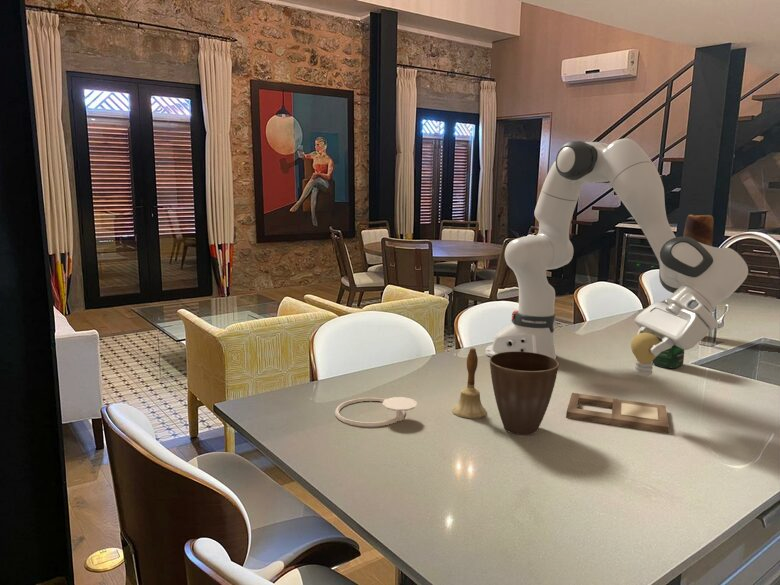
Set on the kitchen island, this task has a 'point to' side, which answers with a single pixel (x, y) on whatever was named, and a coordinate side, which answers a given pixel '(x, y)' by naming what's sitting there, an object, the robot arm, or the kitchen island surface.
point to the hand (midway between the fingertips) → (643, 348)
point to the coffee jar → (670, 357)
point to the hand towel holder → (392, 404)
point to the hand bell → (470, 393)
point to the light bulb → (644, 352)
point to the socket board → (620, 412)
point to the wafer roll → (699, 228)
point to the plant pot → (522, 388)
